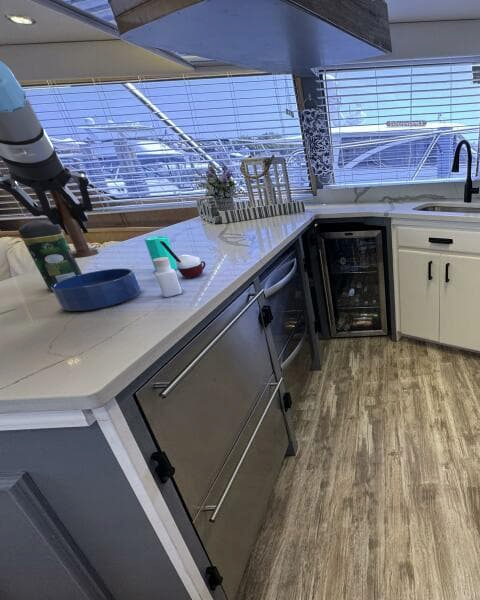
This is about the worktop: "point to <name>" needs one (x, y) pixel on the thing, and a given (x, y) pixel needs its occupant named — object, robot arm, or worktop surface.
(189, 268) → the cocoa
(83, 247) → the brown wooden pestle
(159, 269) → the salt shaker
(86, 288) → the bowl
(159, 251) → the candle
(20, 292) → the worktop surface
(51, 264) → the coffee jar
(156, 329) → the worktop surface
